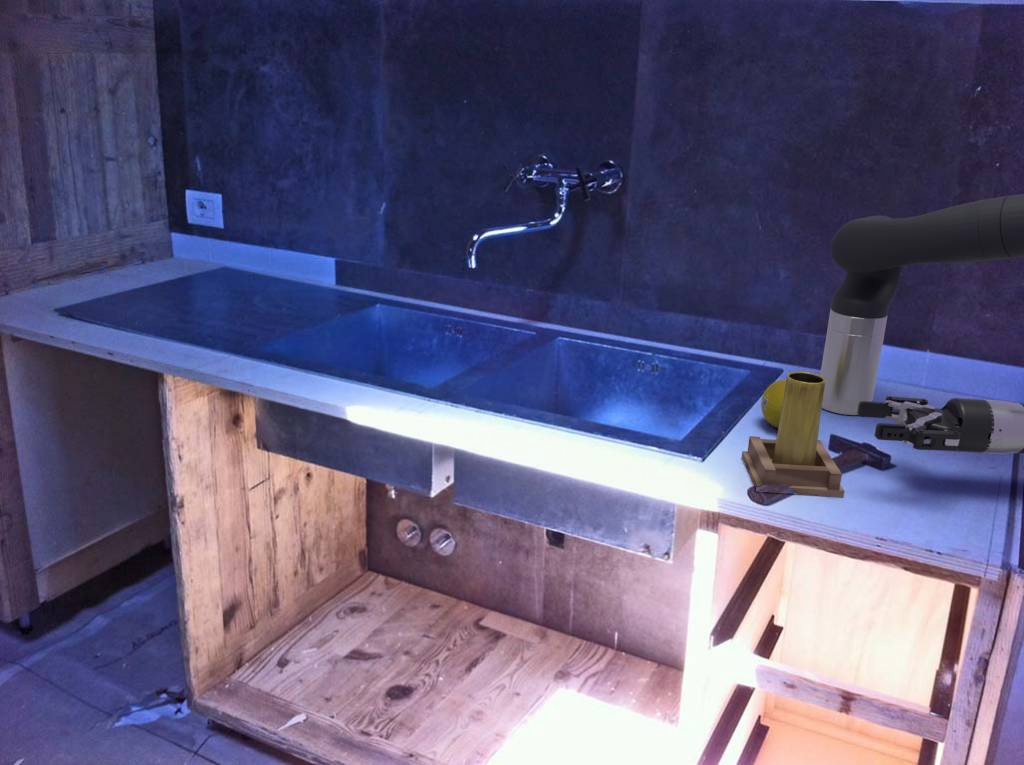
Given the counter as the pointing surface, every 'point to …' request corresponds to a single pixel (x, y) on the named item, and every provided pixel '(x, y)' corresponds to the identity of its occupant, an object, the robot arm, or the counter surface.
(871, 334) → the robot arm
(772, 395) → the lemon
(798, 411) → the vase
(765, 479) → the socket block
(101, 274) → the counter surface
